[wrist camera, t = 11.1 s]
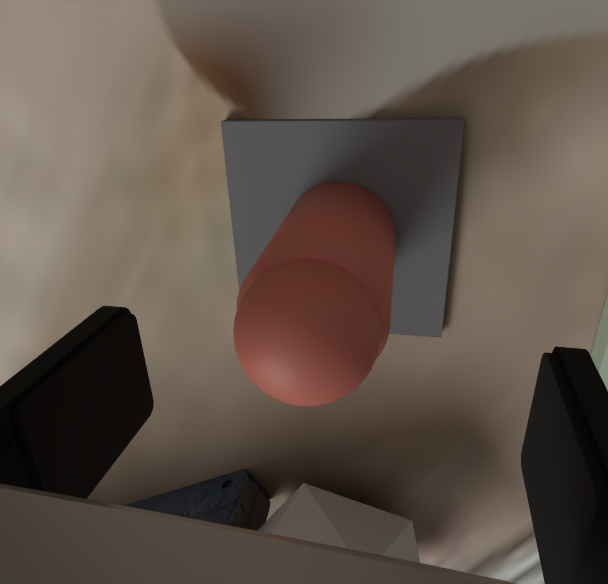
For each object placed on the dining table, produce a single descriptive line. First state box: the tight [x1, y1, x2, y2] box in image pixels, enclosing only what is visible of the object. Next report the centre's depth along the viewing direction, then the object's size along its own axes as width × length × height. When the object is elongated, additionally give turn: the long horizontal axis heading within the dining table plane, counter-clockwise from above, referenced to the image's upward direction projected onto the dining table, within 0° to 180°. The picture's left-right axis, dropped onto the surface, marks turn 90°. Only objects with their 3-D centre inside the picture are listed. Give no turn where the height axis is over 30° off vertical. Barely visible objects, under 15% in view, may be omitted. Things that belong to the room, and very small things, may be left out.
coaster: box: [221, 118, 465, 337], centre depth 18 cm, size 8×8×1 cm
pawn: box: [234, 181, 396, 406], centre depth 14 cm, size 4×4×8 cm
